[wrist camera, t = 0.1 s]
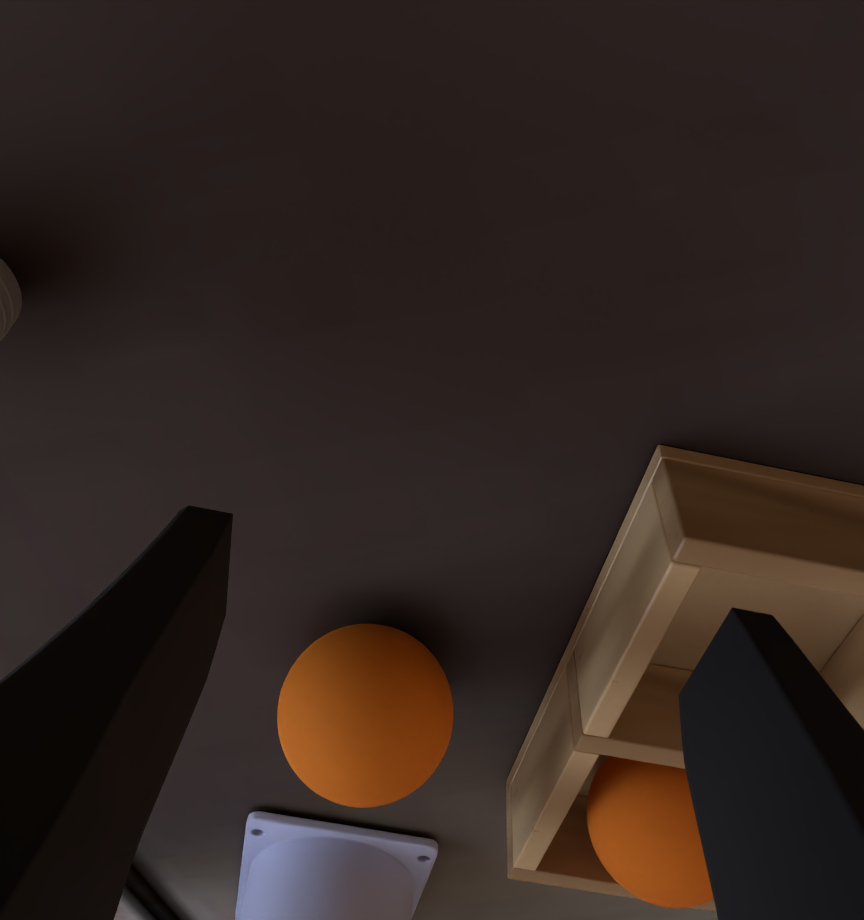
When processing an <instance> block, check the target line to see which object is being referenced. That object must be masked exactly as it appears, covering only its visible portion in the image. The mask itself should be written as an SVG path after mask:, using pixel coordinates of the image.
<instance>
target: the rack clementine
mask: <svg viewBox="0 0 864 920" xmlns="http://www.w3.org/2000/svg"><path fill="white" fill-rule="evenodd" d="M587 824H588V830H589V834H590V838H591V841H592V844H593V847H594V849H595V851H596V854H597V856H598V858H599V859H600V861H601V863H602V864H603V866H604V867H605V869H606V870H607V871H608V873H609V874H610V875H611V876H612V877H613V878H614V880H615V881H616V882H618V883H619V884H620V885H621V886H622V887H623V888H624V889H626V890H627V891H628V892H630V893H631V894H633V895H635V896H636V897H638V898H640V899H642V900H644V901H646V902H649V903H652V904H654V905H658V906H662V907H669V908H688V907H694V906H698V905H702V904H705V903H707V902H710V901H712V900H713V899H714V898H713V893H712V889H711V884H710V880H709V875H708V871H707V866H706V862H705V857H704V853H703V848H702V844H701V839H700V835H699V830H698V826H697V821H696V817H695V812H694V807H693V803H692V798H691V793H690V789H689V784H688V779H687V774H686V769H683V768H677V767H671V766H665V765H659V764H654V763H648V762H642V761H636V760H630V759H624V758H619V757H613V756H608V757H607V758H606V759H605V760H604V761H603V763H602V764H601V766H600V767H599V769H598V770H597V772H596V774H595V776H594V778H593V781H592V783H591V786H590V790H589V794H588V799H587Z"/></svg>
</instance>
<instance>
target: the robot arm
mask: <svg viewBox="0 0 864 920" xmlns="http://www.w3.org/2000/svg"><path fill="white" fill-rule="evenodd" d="M232 518H233V514H231V513H226V512H220V511H215V510H210V509H204V508H199V507H194V506H187V507H185V508H184V509H182V510H180V511H179V512H178V514H177V515H176V516H175V517H174V518H173V520H172V521H171V522H170V523H169V524H168V525H167V526H166V528H165V529H164V530H163V531H162V532H161V533H160V534H159V535H158V536H157V538H156V539H155V540H154V541H153V542H152V543H151V544H150V545H149V546H148V547H147V548H146V549H145V550H144V552H143V553H142V554H141V555H140V556H139V557H138V558H137V559H136V560H135V561H134V562H133V563H132V564H131V565H130V566H129V567H128V568H127V569H126V570H125V571H124V572H123V573H122V574H121V575H120V576H119V577H118V578H117V579H116V580H115V581H114V582H113V583H112V584H111V585H110V586H108V587H107V588H106V589H105V590H104V591H103V592H102V593H101V594H100V595H99V596H98V597H97V598H96V599H95V600H94V601H93V602H92V603H91V604H90V605H89V606H88V607H87V608H85V609H84V610H83V611H82V612H81V613H80V614H79V615H78V616H77V617H76V618H75V619H73V620H72V621H71V622H70V623H69V624H68V625H66V626H65V627H64V628H63V629H62V630H61V631H59V632H58V633H57V634H56V635H55V636H54V637H52V638H51V639H50V640H49V641H48V642H47V643H45V644H44V645H43V646H42V647H41V648H40V649H38V650H37V651H36V652H35V653H34V654H33V655H32V656H30V657H29V658H28V659H27V660H25V661H24V662H23V663H22V664H21V665H19V666H18V667H17V668H16V669H14V670H13V671H12V672H11V673H9V674H8V675H7V676H5V677H4V678H3V679H2V680H0V920H114V917H115V914H116V911H117V907H118V904H119V901H120V898H121V895H122V892H123V888H124V885H125V882H126V879H127V876H128V873H129V870H130V866H131V863H132V860H133V858H134V855H135V852H136V850H137V847H138V844H139V842H140V839H141V836H142V834H143V831H144V828H145V826H146V824H147V821H148V819H149V816H150V814H151V812H152V809H153V807H154V804H155V802H156V800H157V797H158V795H159V793H160V790H161V788H162V785H163V783H164V781H165V778H166V776H167V774H168V771H169V769H170V766H171V764H172V762H173V759H174V757H175V754H176V752H177V750H178V747H179V745H180V743H181V740H182V738H183V735H184V733H185V731H186V728H187V726H188V723H189V721H190V719H191V716H192V714H193V711H194V709H195V707H196V704H197V702H198V699H199V697H200V695H201V692H202V690H203V687H204V685H205V682H206V680H207V676H208V673H209V670H210V666H211V663H212V660H213V656H214V653H215V650H216V646H217V643H218V639H219V636H220V632H221V629H222V625H223V622H224V618H225V615H226V602H227V588H228V574H229V560H230V546H231V532H232ZM679 709H680V723H681V736H682V746H683V756H684V764H685V769H686V774H687V779H688V784H689V789H690V793H691V798H692V803H693V807H694V812H695V817H696V821H697V826H698V830H699V835H700V839H701V844H702V848H703V853H704V857H705V862H706V866H707V871H708V875H709V880H710V884H711V889H712V893H713V898H714V902H715V907H716V911H717V916H718V920H864V730H863V728H862V727H861V726H860V725H859V723H858V722H857V721H856V720H855V718H854V717H853V716H852V715H851V713H850V712H849V711H848V710H847V708H846V707H845V706H844V704H843V703H842V702H841V701H840V699H839V698H838V697H837V696H836V694H835V693H834V692H833V690H832V689H831V688H830V687H829V685H828V684H827V683H826V681H825V680H824V679H823V678H822V676H821V675H820V674H819V672H818V671H817V670H816V669H815V667H814V666H813V665H812V663H811V662H810V661H809V660H808V658H807V657H806V656H805V654H804V653H803V652H802V651H801V649H800V648H799V647H798V646H797V644H796V643H795V642H794V641H793V639H792V638H791V637H790V635H789V634H788V633H787V632H786V631H785V629H784V628H783V627H782V626H781V625H780V623H779V622H778V621H777V620H776V619H775V617H774V616H773V615H770V614H765V613H760V612H754V611H749V610H744V609H738V608H733V607H732V608H731V610H730V611H729V613H728V615H727V616H726V618H725V620H724V621H723V623H722V625H721V626H720V628H719V630H718V631H717V633H716V634H715V636H714V638H713V639H712V641H711V643H710V644H709V646H708V648H707V649H706V651H705V653H704V654H703V656H702V657H701V659H700V661H699V662H698V664H697V666H696V667H695V669H694V671H693V672H692V674H691V676H690V677H689V679H688V681H687V682H686V684H685V685H684V687H683V689H682V690H681V692H680V694H679ZM437 855H438V844H437V842H436V841H434V840H433V839H429V838H423V837H417V836H411V835H405V834H398V833H392V832H386V831H380V830H374V829H367V828H361V827H355V826H349V825H343V824H337V823H330V822H324V821H318V820H312V819H306V818H299V817H293V816H287V815H281V814H275V813H269V812H262V811H255V812H252V813H250V814H249V816H248V819H247V823H246V831H245V839H244V847H243V856H242V864H241V872H240V880H239V889H238V897H237V905H236V914H235V919H236V920H412V917H413V915H414V912H415V910H416V907H417V905H418V902H419V900H420V897H421V895H422V892H423V890H424V887H425V885H426V882H427V880H428V877H429V875H430V872H431V870H432V867H433V865H434V862H435V860H436V857H437Z"/></svg>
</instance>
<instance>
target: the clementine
mask: <svg viewBox="0 0 864 920" xmlns="http://www.w3.org/2000/svg"><path fill="white" fill-rule="evenodd" d="M453 714H454V713H453V700H452V695H451V690H450V686H449V683H448V681H447V678H446V675H445V673H444V671H443V669H442V668H441V666H440V664H439V663H438V661H437V659H436V658H435V657H434V656H433V654H432V653H431V652H430V651H429V650H428V649H427V648H426V647H425V646H424V645H423V644H422V643H421V642H419V641H418V640H416V639H415V638H414V637H412V636H411V635H409V634H407V633H405V632H403V631H401V630H399V629H396V628H393V627H389V626H385V625H379V624H355V625H349V626H345V627H342V628H339V629H337V630H334V631H331V632H329V633H327V634H325V635H324V636H322V637H321V638H319V639H318V640H316V641H315V642H313V643H312V644H311V645H310V646H309V647H308V648H307V649H306V650H305V651H304V652H303V653H302V654H301V655H300V656H299V658H298V659H297V660H296V662H295V663H294V664H293V666H292V667H291V669H290V671H289V673H288V675H287V677H286V679H285V681H284V684H283V687H282V690H281V693H280V697H279V703H278V714H277V725H278V732H279V738H280V742H281V745H282V749H283V751H284V754H285V756H286V758H287V760H288V762H289V764H290V766H291V767H292V769H293V771H294V772H295V773H296V774H297V776H298V777H299V778H300V779H301V781H302V782H303V783H305V784H306V785H307V786H308V787H309V788H310V789H311V790H313V791H314V792H315V793H317V794H318V795H320V796H322V797H324V798H326V799H328V800H330V801H332V802H335V803H338V804H341V805H345V806H350V807H360V808H366V807H376V806H381V805H386V804H389V803H392V802H395V801H397V800H399V799H401V798H403V797H405V796H407V795H409V794H410V793H412V792H413V791H415V790H416V789H417V788H419V787H420V786H421V785H422V784H423V783H424V782H425V781H426V780H427V779H428V778H429V777H430V776H431V775H432V774H433V772H434V771H435V769H436V768H437V766H438V765H439V763H440V762H441V760H442V758H443V756H444V754H445V752H446V749H447V747H448V744H449V741H450V737H451V733H452V727H453Z"/></svg>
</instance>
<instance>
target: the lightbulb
mask: <svg viewBox="0 0 864 920" xmlns="http://www.w3.org/2000/svg"><path fill="white" fill-rule="evenodd" d="M21 309H22V296H21V290H20V287H19V284H18V282H17V280H16V278H15V276H14V274H13V273H12V271H11V270H10V268H9V267H8V266H7V264H6V263H5V262H4V261H3V260H2V259H1V258H0V341H1V340H2V338H3V337H5V336H6V334H7V333H8V331H9V330H10V328H11V326H12V325H13V324H14V323H15V321H16V320H17V319H18V317H19V315H20V312H21Z"/></svg>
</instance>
